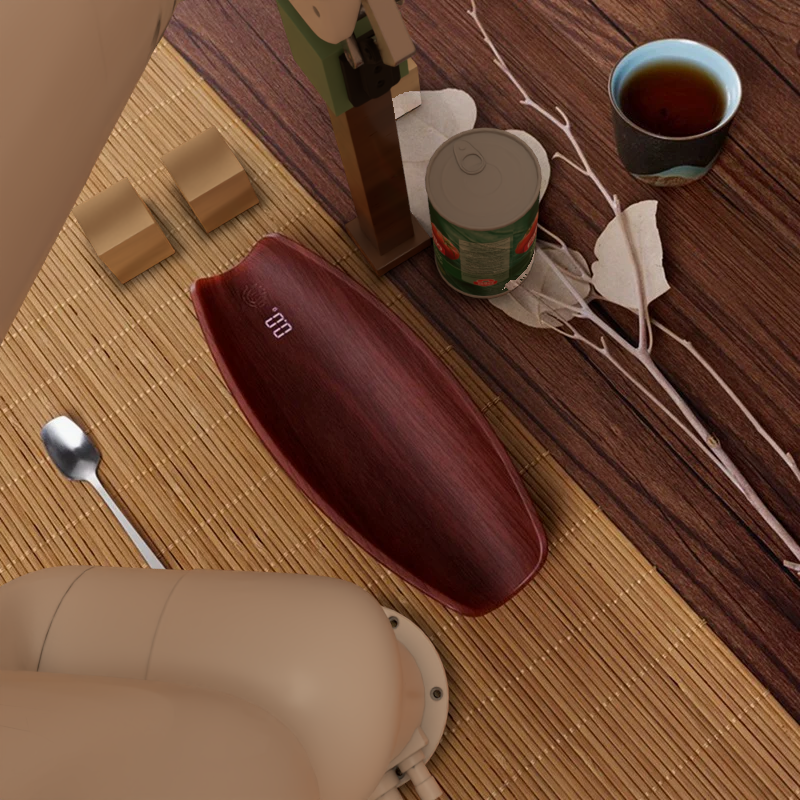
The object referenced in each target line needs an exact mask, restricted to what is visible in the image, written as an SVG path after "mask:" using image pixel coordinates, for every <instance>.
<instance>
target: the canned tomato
mask: <svg viewBox="0 0 800 800" xmlns="http://www.w3.org/2000/svg"><path fill="white" fill-rule="evenodd" d="M542 177H543V175H542V167H541V164H540V162H539V159H538V156H537V155H536V154H535V152H534V150H533V149H532V147H530V145H529V144H528V143H527V142H526V141H524V139H522V138H521V137H519V136H517V135H516V134H513V133H511V132H509V131H507V130H503V129H499V128H493V127H477V128H471V129H467V130H463V131H460V132H459V133H457V134H454V135H452V136H450V137H449V138H448V139H446V140H445V141H443V142H442V143H441V144H440V146H438V148H436V149H435V151H434V152H433V154H432V155H431V157H430V158H429V161H428V164H427V166H426V169H425V175H424V183H425V184H424V185H425V191H426V196H427V205H428V213H429V220H430V228H431V229H430V230H431V236H432V245H433V252H434V262H435V266H436V269H437V271H438V273H439V275H440V277H441V278H442V280H443V281H444V282H445V283H446V284H447V285H448V286H449V287H450V288H451V289H453V290H454V291H456V292H457V293H460V294H462V295H464V296H467V297H470V298H473V299H481V300H482V299H483V300H484V299H495V298H497V297H501V296H504V295H507V294H509V293H511V292H513V291H512V290H508V289H507V288H505V289H504V287H505V284H506V283H508V282H509V281H510V280H516V279H517V278H518V277H519V276H520V275H521V274H522V273H523V272H524V271H525V270H526V269H527V267H528V265H529V264H530V262H531V260H532V257H533V254H534V248H535V249H536V243H537V232H538V219H539V211H540V210H539V208H540V199H541V198H540V197H541V189H542V182H543V181H542V180H543V178H542ZM525 275H526V276H527V277H523V278H524V279H520V280H521V281H522V282H520V283H521V284H522V283H524V282H525V281H526V280H527V278H528V276H529V275H530V273H529V274H525ZM502 289H503V290H502Z"/></svg>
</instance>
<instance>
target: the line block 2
mask: <svg viewBox="0 0 800 800" xmlns="http://www.w3.org/2000/svg"><path fill="white" fill-rule="evenodd" d="M159 159H160V160H161V162H162V164H163V166H164V167H165V169H166V170H167V172H168V174H169V175H170V177H171V179H172V181H173V182H174V183H175V185H176V187H177V189H178V190H179V192H180V193H181V195H182V197H183V198H184V199H185V201H186V203H187V204H188V206H189V208H190V209H191V210H192V212H193V214H194V216H195V217H196V218H197V220H198V221H199V223H200V224H201V226H202V227H203V229H204V231H205V233H206V234H209V233H211V232H213V231H214V230H216V229H217V228H219V227H222V225H224V224H226V223H227V222H229V221H231V220H232V219H234V218H236V217H237V216H239V215H241V214H243V213H244V212H245V211H248V210H249V209H251V208H253V207H255V206H256V205H257V204H259V203H260V201H259V199H258V196H257V193H256V192H255V190H254V187H253V185H252V183H251V181H250V178H249V176H248V175H247V172H246V170H245V168H244V167H243V166H242V164H241V163H240V160H239V159H238V157H237V156H236V155H235V153H234V152H233V150H232V149H231V148H230V146H229V145H228V143H227V141H226V140H225V139H224V137H223V136H222V134H221V132H220V131H219V130H218V128H217V127H216V125H214V124H213V125H212V126H210V127H208V128H206V129H204V130H203V131H201V132H200V133H198V134H196V135H195V136H193V137H191V138H189V139H187V140H186V141H184V142H183V143H181V144H178V145H177V146H176V147H174V148H173V149H170V150H169V151H167V152H165V153H164V154H162V155H160V156H159Z"/></svg>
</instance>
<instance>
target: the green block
mask: <svg viewBox="0 0 800 800" xmlns="http://www.w3.org/2000/svg"><path fill="white" fill-rule="evenodd" d="M275 4H276V6H277V9H278V14H279V16H280V19H281V23H282V26H283V30H284V33H285V35H286V39H287V41H288V42H287V43H288V45H289V49H290V52H291V55H292V59H293V61H294V62H295V63H296V65H297V66H298V67H299V69H300V70H301V71H302V73H303V74H304V75H305V77H306V78H307V79H308V81H309V82H310V84H311V85H312V86H313V87H314V89H315V90H316V91H317V93H318V94H319V96H320V97H321V98H322V100H323V101H324V102H325V104H326V103H327V105H328V106H329V107H330V109H331V110H332V112H333V113H334V114H335V116H336V117H337V116H339V115H341V114H342V113H344V112H346V111H347V110H349V109H351V108H352V107H354V106H353V105H352V104H351V102H350V101H349V100H348V95H347V91H346V87H345V83H344V79H343V74H342V70H341V66H340V62H339V58H338V57H339V56H341V55H342V53H344V51H343V48H342V45H341V42H339V43H337V44H332V43H329V42H326V41H324V40H323V39H321V38H320V37H318V36H317V35H316V34H315V33H314V31H313V30H312V29H311V28H310V27H309V25H308V24H307V23H306V22H305V21H304V19H303V18H302V17H301V15H300V14H299V13H298V12H297V10H296V9H295V8H294V6H293V5H292V4H291V3H290V1H289V0H275ZM400 14H401V16H402V12H401V11H400ZM402 17H403V16H402ZM371 29H373V28H372V26H371V24H370V22H369V20H368V17H367V16H366V17H364V18H362V19H361V20H359V21H357V22H356V25H355V28H354V33H355V36H356V38H358V37H359V36H361V35H363V34H364V33H366V32H368V31H370V30H371ZM399 68H400V75H401V78H403V77H404V76H406V75H408V74H409V69H408V61H407V60H405V61H404V62H402V63H400V64H399ZM327 105H326V106H327Z"/></svg>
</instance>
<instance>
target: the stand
mask: <svg viewBox="0 0 800 800" xmlns="http://www.w3.org/2000/svg"><path fill="white" fill-rule="evenodd" d="M325 106H326V109H327V112H328V116H329V119H330V123H331V128H332V130H333V135H334V137H335V138H334V139H335V141H336V146H337V149H338V152H339V155H340V156H339V157H340V159H341V163H342V166H343V170H344V174H345V178H346V182H347V185H348V189H349V193H350V196H351V199H352V203H353V207H354V211H355V214H356V217H355V218H353V219H351V220H349V221H348V222H347V223H345V224H344V227H345V231H346V233H347V234H348V236H349V237H350V239H351V241H352V242H353V243H354V244H355V246H356V247H357V249H358V250H359V251H360V253H361V255H362V257H364V259H365V260H366V261H367V263H368V264H369V266H370V267H371V269H372V270H373V271H374V273H375V274H376V275H377V277H378V278H380V277H381V276H384V275H385V274H386V273H388V272H390V271H392V270H393V269H395V268H396V267H398V266H400V265H401V264H404V262H406V261H408V260H409V259H411V258H412V257H414V256H416V255H417V254H419V253H422V252H423V251H424V250H426V249H427V248H429V247H430V246H432V240H431V236H430V234H429V233H428V232H427V231H426V229H425V228H424V227H423V225H422V224H421V223H420V221H419V220H418V219H417V217H416V216H415V215H414V213H413V212H412V211H411V205H410V199H409V194H408V188H407V180H406V175H405V168H404V161H403V156H402V149H401V145H400V137H399V131H398V125H397V120H396V119H395V113H394V107H393V101H392V95H391V89H390V90H389V91H388V92H387V93H385V94H384V95H382V96H380V97H378V98H376V99H371V100H370V101H368V102H366V103H364V104H363V105H361V106H359V107H352V108H351V109H349V110H347V111H346V112H344V113H342V114H341V115H339V116H337V117H336V116H335V114H334V113H333V112H332V110H331V109H330V107H329V106H328V105H327V103H326V102H325ZM412 213H413V214H412Z"/></svg>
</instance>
